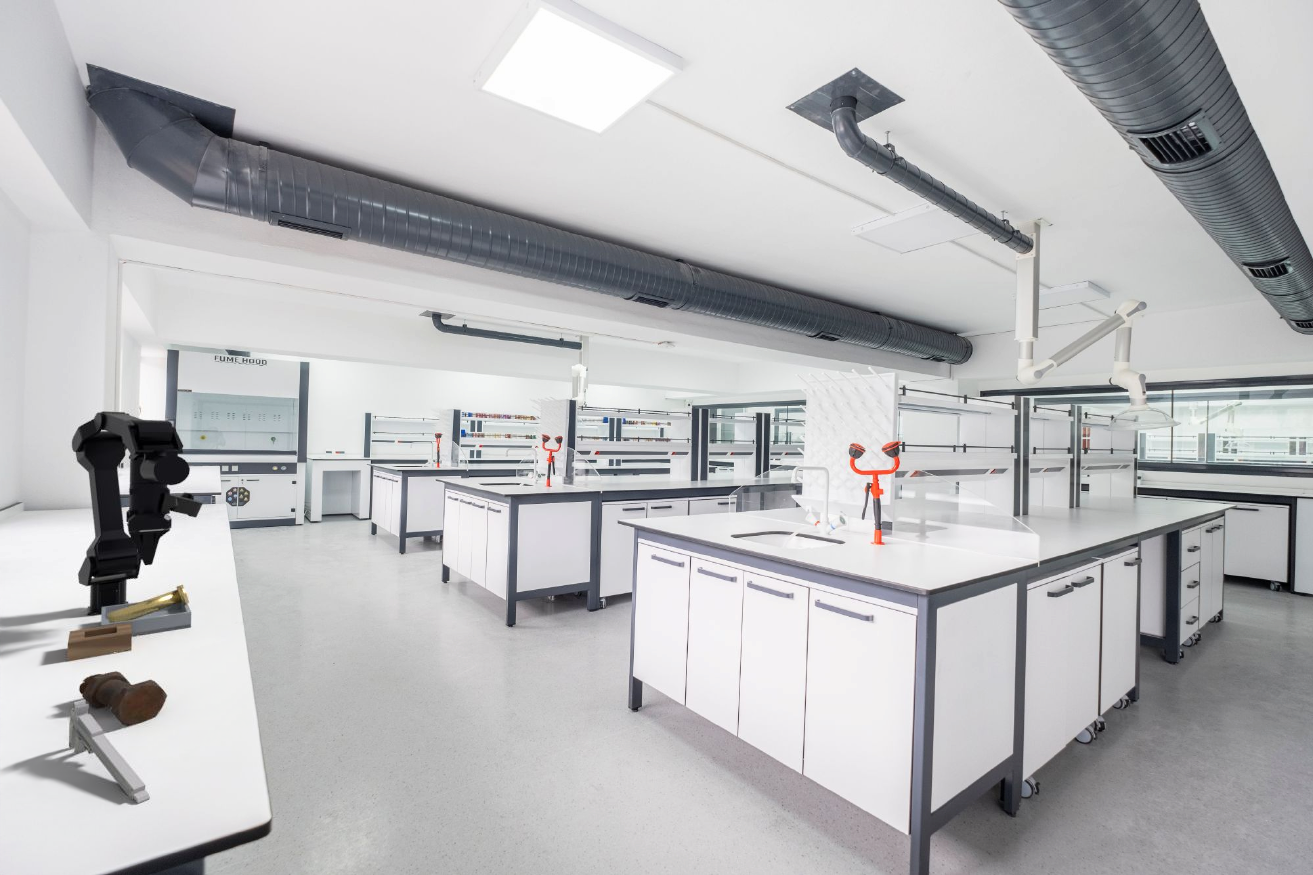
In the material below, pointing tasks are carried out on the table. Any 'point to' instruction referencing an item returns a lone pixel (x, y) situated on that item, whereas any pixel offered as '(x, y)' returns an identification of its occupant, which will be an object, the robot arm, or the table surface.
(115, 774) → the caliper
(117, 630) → the block
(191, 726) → the table surface
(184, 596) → the pin
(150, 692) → the bolt
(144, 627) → the tray
